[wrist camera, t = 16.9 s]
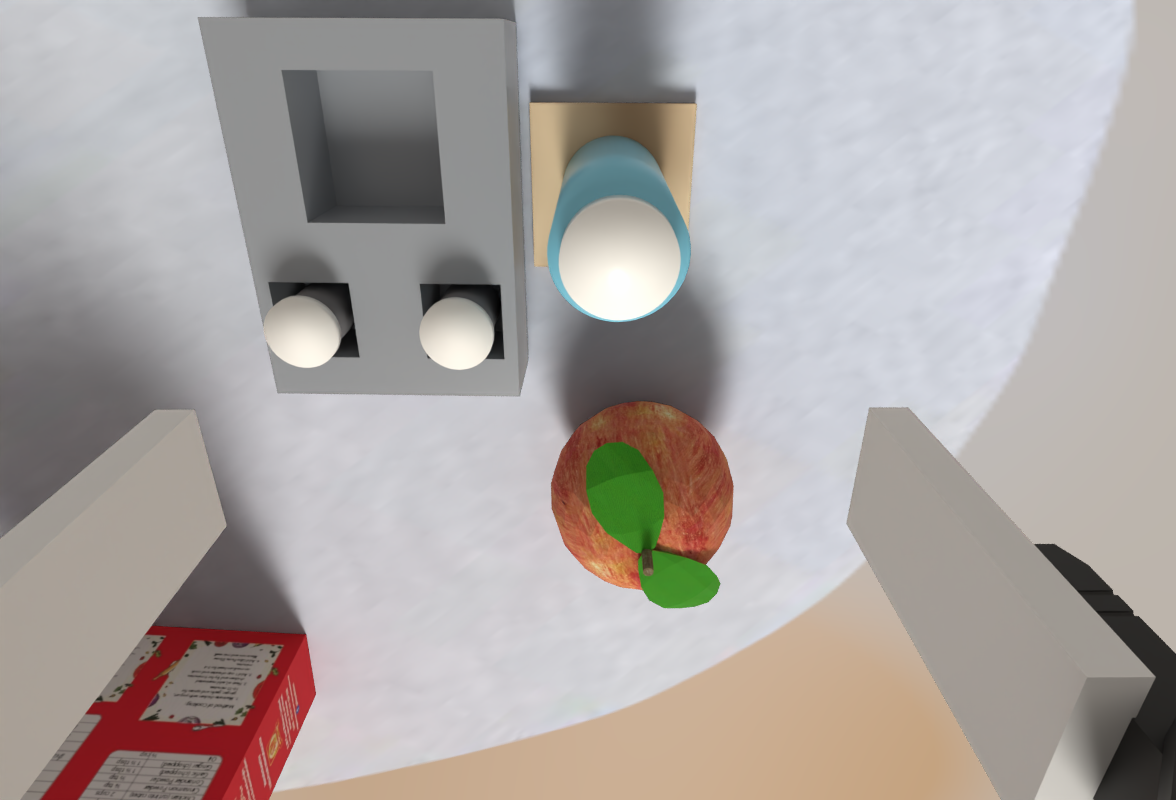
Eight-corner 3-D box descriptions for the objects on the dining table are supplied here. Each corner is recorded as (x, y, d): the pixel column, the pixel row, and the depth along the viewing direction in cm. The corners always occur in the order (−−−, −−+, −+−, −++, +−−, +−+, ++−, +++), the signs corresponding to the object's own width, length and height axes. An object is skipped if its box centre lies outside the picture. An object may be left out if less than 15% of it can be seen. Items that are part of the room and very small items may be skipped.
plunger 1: (307, 333, 33) (271, 367, 30) (295, 271, 32) (256, 299, 28) (370, 333, 33) (342, 368, 30) (361, 271, 32) (331, 299, 28)
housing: (310, 358, 36) (277, 393, 32) (248, 21, 29) (197, 17, 25) (528, 361, 35) (519, 396, 32) (516, 22, 29) (503, 18, 25)
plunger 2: (442, 334, 33) (422, 369, 30) (436, 272, 32) (415, 300, 28) (506, 335, 33) (494, 370, 30) (503, 273, 32) (490, 301, 28)
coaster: (535, 263, 33) (534, 266, 33) (530, 102, 30) (529, 103, 30) (684, 265, 33) (685, 268, 33) (695, 103, 30) (696, 104, 30)
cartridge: (564, 238, 32) (548, 332, 22) (561, 135, 30) (541, 187, 20) (660, 237, 32) (690, 332, 22) (664, 134, 30) (698, 185, 20)
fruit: (592, 536, 40) (589, 675, 31) (527, 394, 36) (502, 507, 27) (739, 493, 39) (780, 626, 30) (688, 340, 35) (717, 441, 26)
